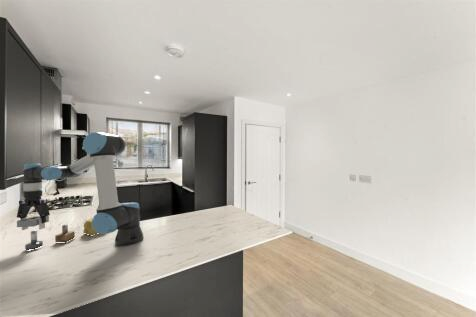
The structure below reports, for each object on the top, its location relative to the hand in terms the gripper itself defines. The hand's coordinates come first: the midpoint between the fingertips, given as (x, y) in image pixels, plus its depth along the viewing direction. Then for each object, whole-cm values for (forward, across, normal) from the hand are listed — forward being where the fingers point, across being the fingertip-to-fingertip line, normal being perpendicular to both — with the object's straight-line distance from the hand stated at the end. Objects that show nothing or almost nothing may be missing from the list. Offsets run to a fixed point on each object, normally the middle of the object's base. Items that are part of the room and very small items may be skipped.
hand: (33, 229), depth 112 cm
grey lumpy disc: (-3, 0, 0) cm, 3 cm away
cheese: (+11, -20, -22) cm, 32 cm away
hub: (+11, 0, 0) cm, 11 cm away
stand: (+11, -10, -9) cm, 18 cm away
